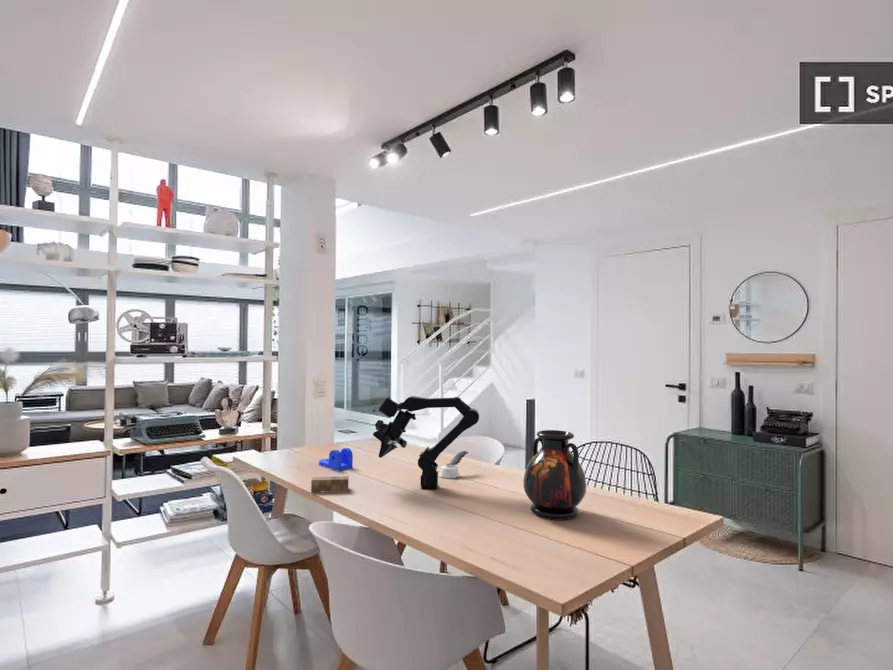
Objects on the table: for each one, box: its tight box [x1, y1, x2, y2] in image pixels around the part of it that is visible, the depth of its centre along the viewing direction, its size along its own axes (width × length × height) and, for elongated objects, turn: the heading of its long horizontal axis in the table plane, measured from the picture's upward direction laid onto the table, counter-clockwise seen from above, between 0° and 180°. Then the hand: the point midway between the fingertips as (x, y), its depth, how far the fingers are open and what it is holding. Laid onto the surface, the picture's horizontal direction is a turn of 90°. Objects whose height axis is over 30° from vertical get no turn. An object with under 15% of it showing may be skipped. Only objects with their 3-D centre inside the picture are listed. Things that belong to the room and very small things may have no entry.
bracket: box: [318, 447, 354, 471], centre depth 246 cm, size 18×8×9 cm, turn 47°
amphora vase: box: [522, 429, 587, 520], centre depth 182 cm, size 22×22×28 cm
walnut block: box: [310, 475, 349, 493], centre depth 205 cm, size 5×5×14 cm
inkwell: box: [438, 450, 469, 479], centre depth 235 cm, size 9×18×10 cm, turn 140°
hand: (379, 457), depth 212 cm, fingers closed
